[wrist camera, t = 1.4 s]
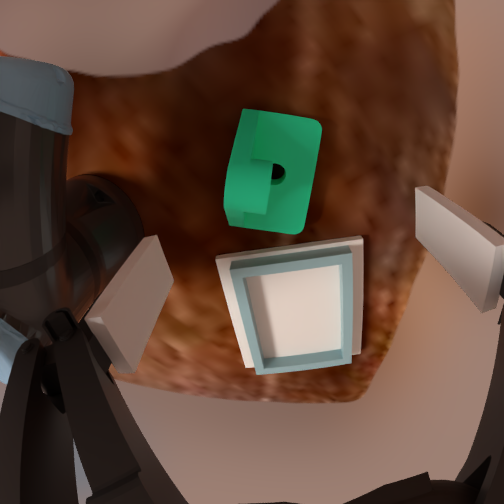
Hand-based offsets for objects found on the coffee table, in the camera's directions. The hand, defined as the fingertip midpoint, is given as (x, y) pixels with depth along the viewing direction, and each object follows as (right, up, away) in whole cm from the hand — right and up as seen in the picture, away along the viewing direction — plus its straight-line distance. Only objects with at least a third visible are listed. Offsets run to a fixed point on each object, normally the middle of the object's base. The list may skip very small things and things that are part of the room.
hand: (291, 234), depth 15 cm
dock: (+4, -8, +25) cm, 26 cm away
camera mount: (0, +8, +17) cm, 19 cm away
